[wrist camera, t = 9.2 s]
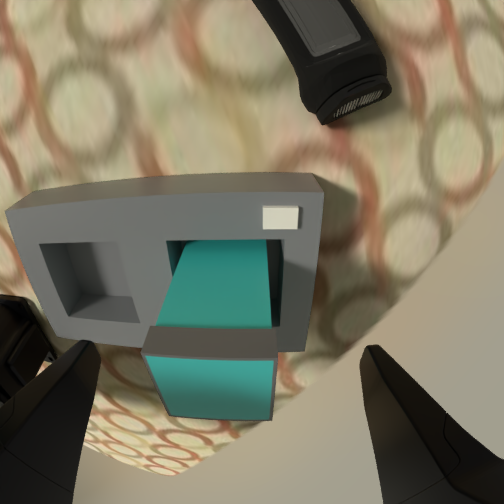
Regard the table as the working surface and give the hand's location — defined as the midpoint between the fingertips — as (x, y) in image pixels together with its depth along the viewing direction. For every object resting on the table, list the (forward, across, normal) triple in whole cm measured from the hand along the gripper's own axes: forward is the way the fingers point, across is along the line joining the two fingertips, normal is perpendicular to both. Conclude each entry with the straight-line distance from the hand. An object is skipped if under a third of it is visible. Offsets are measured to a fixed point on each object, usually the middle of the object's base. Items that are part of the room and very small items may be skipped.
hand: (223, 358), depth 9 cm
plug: (+6, 0, 0) cm, 6 cm away
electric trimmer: (+7, -1, -13) cm, 15 cm away
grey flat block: (+6, +4, 0) cm, 7 cm away
